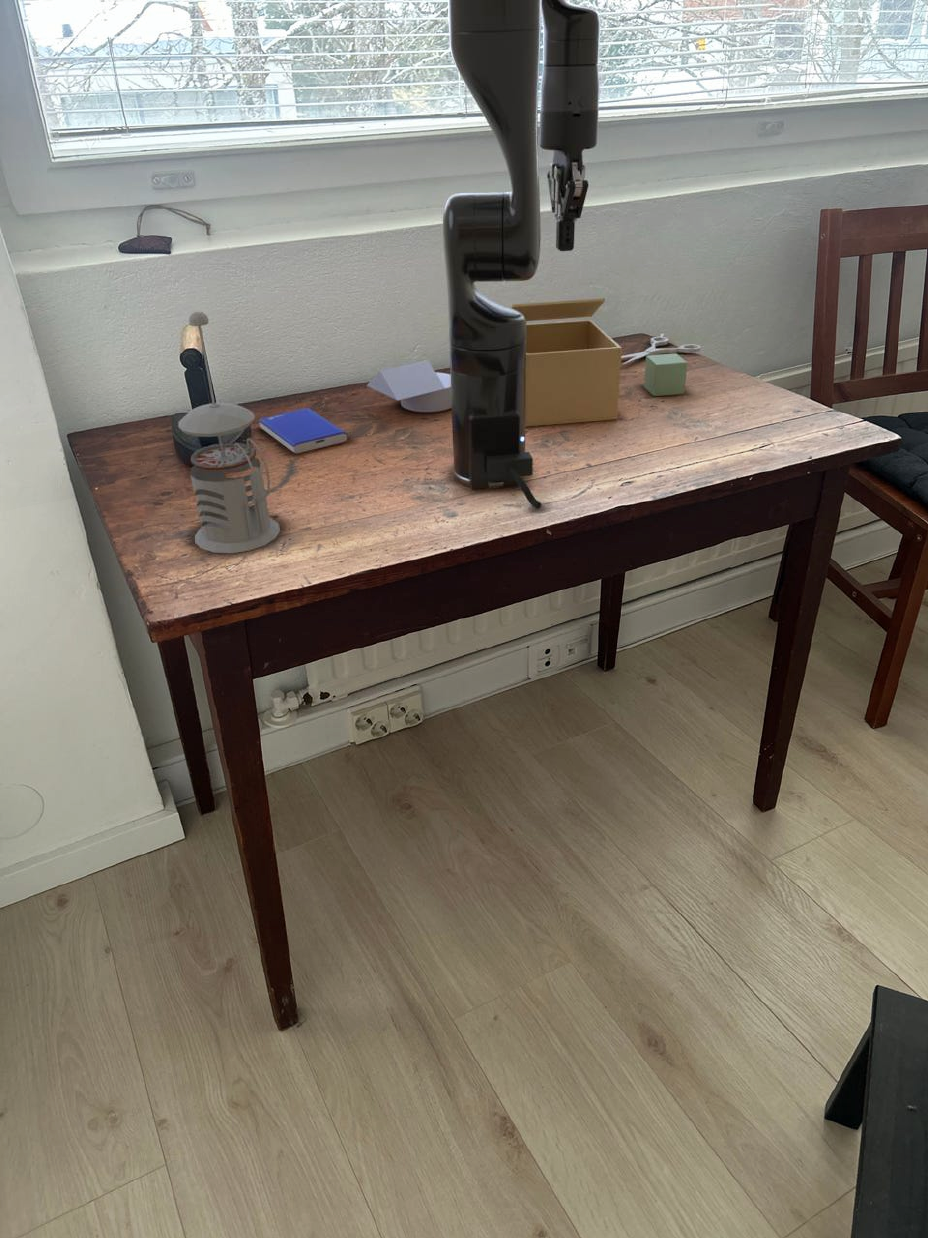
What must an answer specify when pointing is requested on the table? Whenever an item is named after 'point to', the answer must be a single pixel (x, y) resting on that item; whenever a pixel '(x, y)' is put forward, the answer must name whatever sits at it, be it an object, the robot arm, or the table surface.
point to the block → (665, 374)
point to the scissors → (663, 341)
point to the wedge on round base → (415, 386)
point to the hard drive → (302, 430)
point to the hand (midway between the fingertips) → (564, 249)
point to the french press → (222, 497)
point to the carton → (571, 373)
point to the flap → (558, 309)
